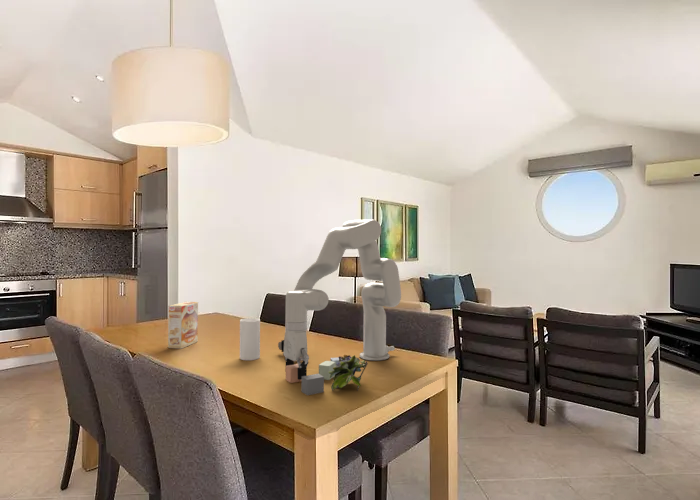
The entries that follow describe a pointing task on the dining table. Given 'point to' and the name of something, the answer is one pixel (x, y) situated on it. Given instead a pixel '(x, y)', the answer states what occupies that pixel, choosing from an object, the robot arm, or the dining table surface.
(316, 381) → the charcoal brick
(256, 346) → the cup
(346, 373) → the passion flower
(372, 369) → the dining table surface
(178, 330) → the coffeecake box
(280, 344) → the figurine character
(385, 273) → the robot arm
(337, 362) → the slate-blue brick
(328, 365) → the sage brick
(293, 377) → the terracotta brick
